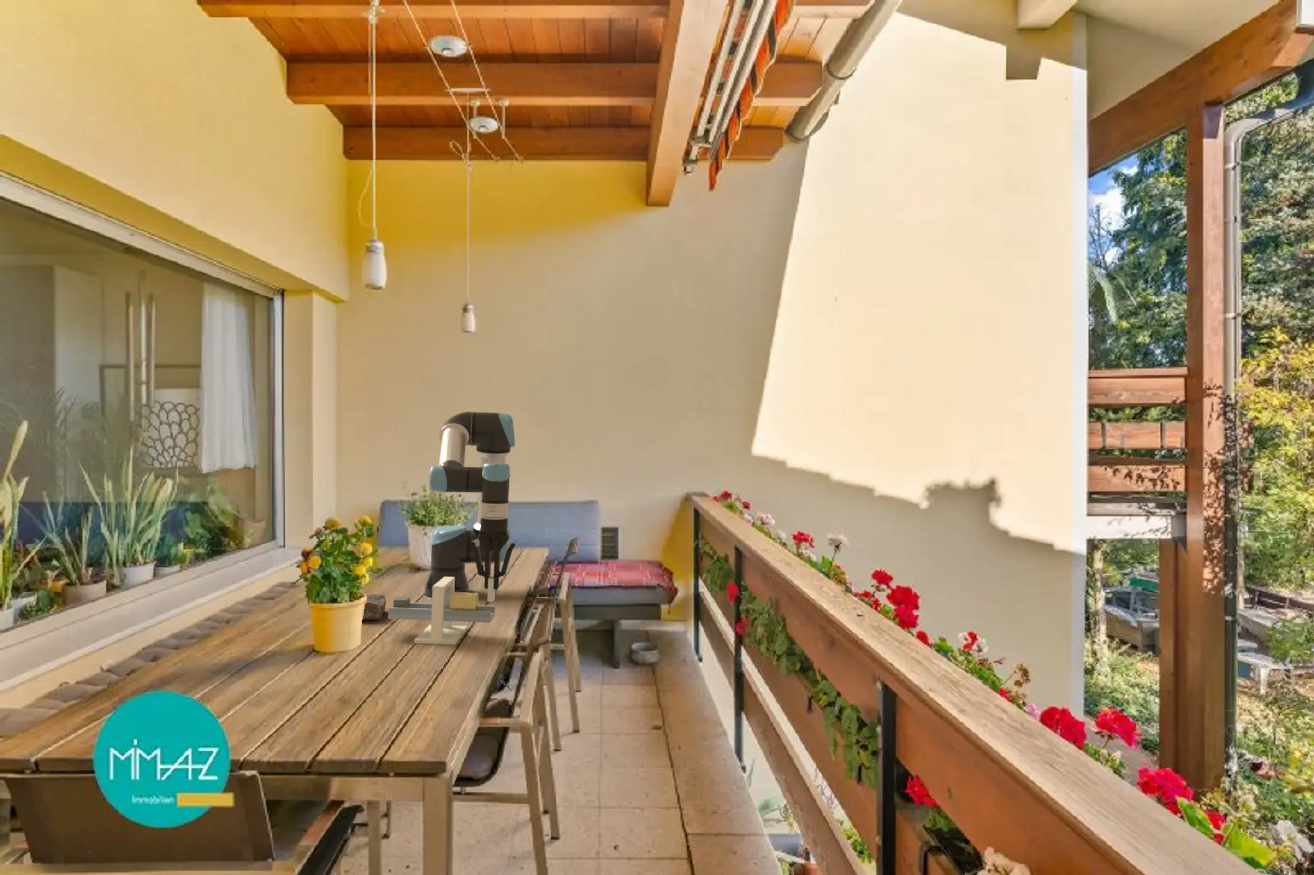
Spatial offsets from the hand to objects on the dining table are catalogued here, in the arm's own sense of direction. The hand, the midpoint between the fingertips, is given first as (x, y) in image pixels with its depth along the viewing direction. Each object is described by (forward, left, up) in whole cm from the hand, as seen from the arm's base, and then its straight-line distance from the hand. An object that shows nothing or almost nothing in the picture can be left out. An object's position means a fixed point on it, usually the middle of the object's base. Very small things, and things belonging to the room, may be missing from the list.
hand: (490, 600), depth 194 cm
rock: (-17, -41, -11) cm, 46 cm away
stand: (0, -13, -11) cm, 17 cm away
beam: (0, -13, -5) cm, 14 cm away
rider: (0, -7, -4) cm, 9 cm away
